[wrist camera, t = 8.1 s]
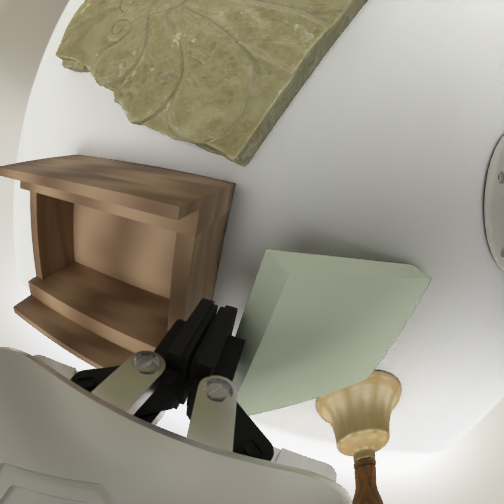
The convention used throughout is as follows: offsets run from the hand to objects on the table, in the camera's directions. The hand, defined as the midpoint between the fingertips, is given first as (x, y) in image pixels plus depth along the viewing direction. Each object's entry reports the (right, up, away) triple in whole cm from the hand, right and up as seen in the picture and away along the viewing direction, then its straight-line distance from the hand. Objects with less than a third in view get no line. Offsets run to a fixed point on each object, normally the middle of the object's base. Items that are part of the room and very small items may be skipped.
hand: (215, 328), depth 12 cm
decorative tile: (-2, +21, +1) cm, 21 cm away
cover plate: (+6, -1, +3) cm, 7 cm away
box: (-7, +5, +7) cm, 11 cm away
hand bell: (+12, -10, +9) cm, 18 cm away
